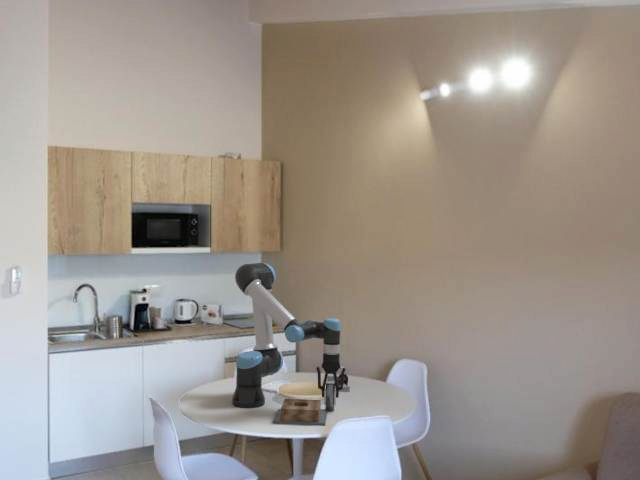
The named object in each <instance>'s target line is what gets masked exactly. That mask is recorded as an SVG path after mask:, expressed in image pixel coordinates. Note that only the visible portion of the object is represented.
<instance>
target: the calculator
mask: <svg viewBox="0 0 640 480" xmlns="http://www.w3.org/2000/svg"><path fill="white" fill-rule="evenodd" d="M291 383H295V382H293V381H287V380H284V379H283V380H282V379H278V380H274V381H272V382H268V383H265V384H261V387H262V391H263V392H269V393H274V394H279V387H280V386H282V385H284V384H291Z"/></svg>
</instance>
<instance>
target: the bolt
mask: <svg viewBox="0 0 640 480" xmlns="http://www.w3.org/2000/svg"><path fill="white" fill-rule="evenodd" d="M338 376H339V377H338V379H337V380H338V386H340V382H341V373H339V375H338ZM348 376H349V375H348V374H346V373H344V378H343V386H345V384H347V383H348V382H347V381H348Z"/></svg>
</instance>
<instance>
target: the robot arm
mask: <svg viewBox="0 0 640 480" xmlns="http://www.w3.org/2000/svg"><path fill="white" fill-rule="evenodd" d="M234 280H235V283H236V286H237V287H238V288H239V290H240V291H241V292H242V293H243V294H244V295H245V296H249V297H250V298H251V302H252V303H251V304H252V312H253V313H252V314H253V325H254V326H253V328H254V336H255V346H254V347H253V349H252V350H249V351H244V352H241V353H238V355H237V356H236V357H237V358H236V364H235V365H236V377H235V378H236V383H235V385H236V386H235V390H234V392H233V395H232V399H231V404H232V405H233V406H235V407H239V408H245V409H246V408H248V409H249V408H250V409H252V408H258V407H259V408H260V407H262V406H264V405H265V403H266V398H265V394H264V391H262V387H261V385H262V384H263V383H262V379H263V378H265V377H268V376H273V375H276V373H278V372H279V371H280V370H282V368H283V365H284V358H283V355H282V353H281V352H280V350H278V345H276V343H275V340H274V331H273V330H274V329H273V322H274V323H276V324H277V325H278V326H279V327H280V328H281V330H283V331H284V336H285V339H286V340H287V341H288V342H289V343H293V344H294V343H300V342H304V341H306V340H310V339H320V340H323V342H322V343H323V345H322V347H323V349H322V352H323V354H322V363H321V365H317V366H316V368H315V369H316V371H317V389H320V390H321V397H322V398H323V399H324V400H323V405H324V406H325V405H326V389H325V385H326V381H327V376H329V375H332V376H334V381H333V382H334V383H335V387H336V390H335V391H334V406H337V398H339V394H340V391H339V390H342V389H343V386H344V385H343V378H344V374H345V372H346V366H342V365H341V363H340V359H341V358H340V357H341V356H340V355H341V354H340V352H341V330H342V329H341V328H342V327H341V320H340V319H338V318H333V317H331V318H330V317H329V318H324V320H323V321H322V322H321V321H314V320H310V319H309V320H307V319H306V320H302V321H301V322H300V321H299V320H298V319H297V318H296V317H294V315H293V314H292V313H291V312H290V311H289V310H287V309H286V307H284V305H283V304H282V303H281V302H280V301H278V300H277V298H276V297H275V296H274V295H273V294H272V293H271V292H272V291H273V285H274V283H275V281H276V272H275V269H274V268H273V266H271V265H270V264H269V263H266V262H257V263H256V262H255V263H245V264H242V265H240V266H238V267H237V270H236V271H235V275H234ZM322 369H323V371H324V372H325V374H324V378H323V382H322V378H321V376H322V372H321V371H322ZM338 371H340V372H341V373H340V374H341V382H340V387H339V386H338V380H337V376H338ZM327 382H328V381H327Z"/></svg>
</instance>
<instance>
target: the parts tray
mask: <svg viewBox="0 0 640 480" xmlns="http://www.w3.org/2000/svg"><path fill="white" fill-rule="evenodd" d="M347 376H348V381H347V382H346V383H347V385H343V389H342V390H339V392H351V391H350V390H351V389H350V387H351V376H349V375H347ZM338 377H339V375H337V379H338ZM328 382H335V381H334V375H328V376H327V381H326V383H328ZM339 387H340V386H339ZM335 389H336V387H335Z"/></svg>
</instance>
